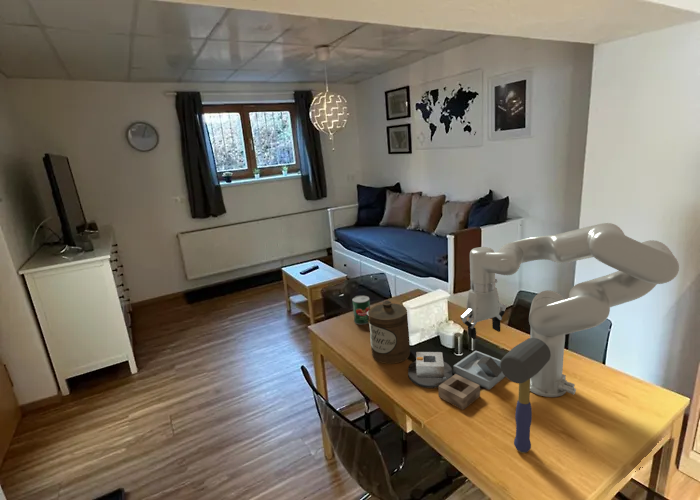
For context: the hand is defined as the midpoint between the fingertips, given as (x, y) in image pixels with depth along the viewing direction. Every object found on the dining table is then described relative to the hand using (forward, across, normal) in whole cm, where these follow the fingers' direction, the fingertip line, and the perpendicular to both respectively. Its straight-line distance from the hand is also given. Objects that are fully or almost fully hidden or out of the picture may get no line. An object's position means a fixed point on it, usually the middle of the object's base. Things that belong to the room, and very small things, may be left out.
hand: (484, 333), depth 129 cm
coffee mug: (+14, +20, -45) cm, 51 cm away
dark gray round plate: (+14, +17, -8) cm, 24 cm away
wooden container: (+14, +23, -27) cm, 38 cm away
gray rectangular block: (+12, +2, -2) cm, 13 cm away
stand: (+15, +15, +6) cm, 22 cm away
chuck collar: (+12, +17, -8) cm, 22 cm away
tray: (+15, +1, -1) cm, 15 cm away
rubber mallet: (+16, +14, +31) cm, 38 cm away
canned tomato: (+13, +22, -59) cm, 65 cm away
